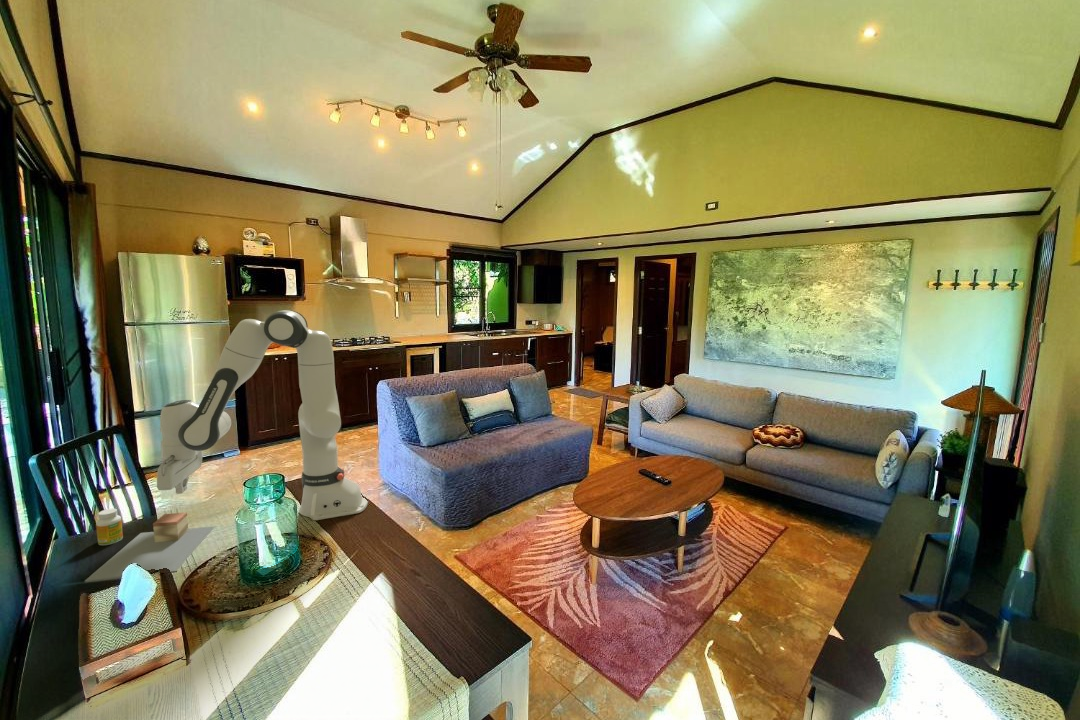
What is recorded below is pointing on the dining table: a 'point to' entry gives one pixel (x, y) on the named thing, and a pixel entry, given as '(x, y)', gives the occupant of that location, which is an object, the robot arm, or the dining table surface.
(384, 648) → the dining table surface
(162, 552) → the slate mat
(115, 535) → the supplement bottle
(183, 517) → the birch block
